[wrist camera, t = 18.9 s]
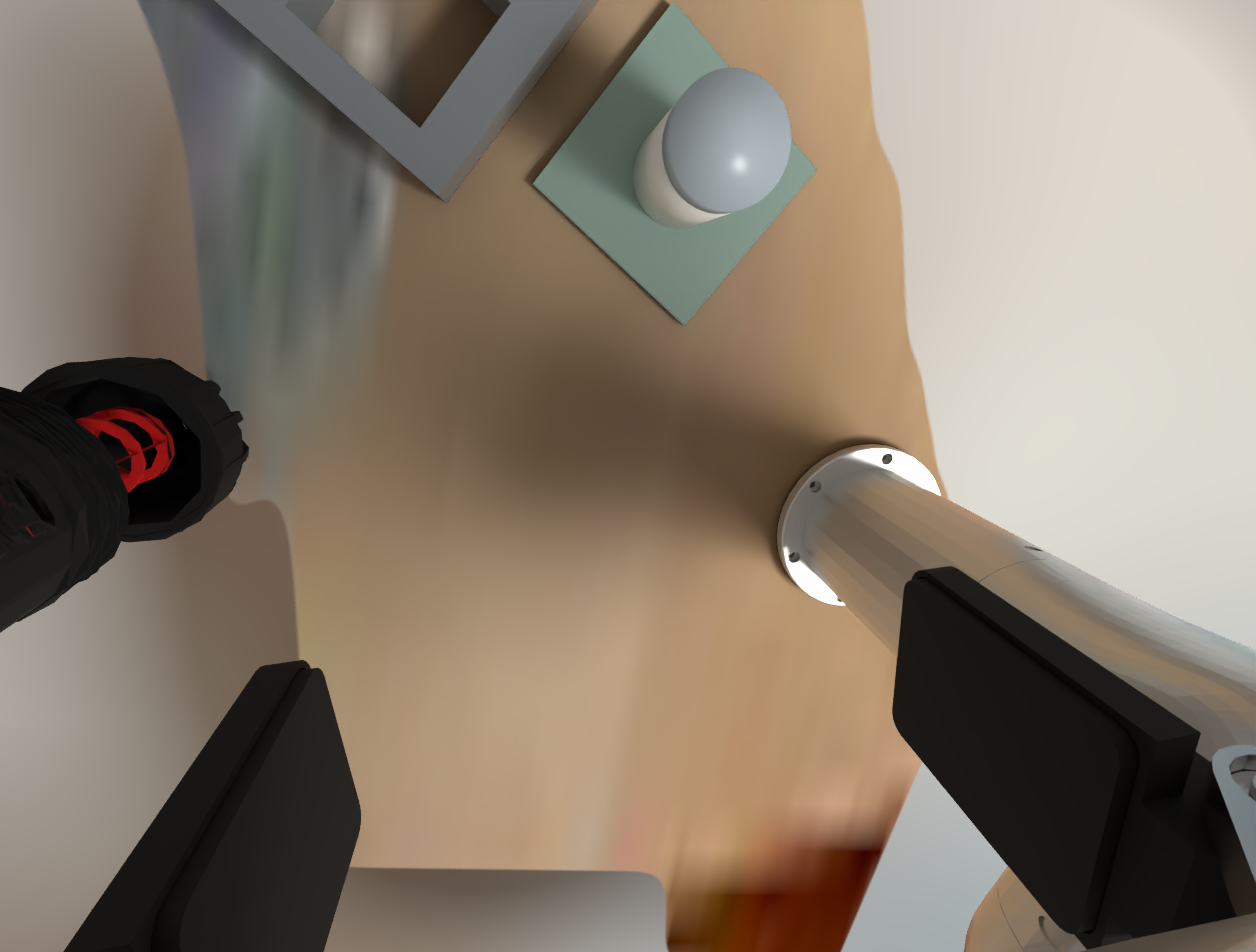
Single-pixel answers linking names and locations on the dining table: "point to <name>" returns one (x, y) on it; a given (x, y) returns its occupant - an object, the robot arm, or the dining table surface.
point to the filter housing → (467, 113)
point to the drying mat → (603, 176)
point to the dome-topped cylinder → (713, 150)
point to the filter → (104, 469)
